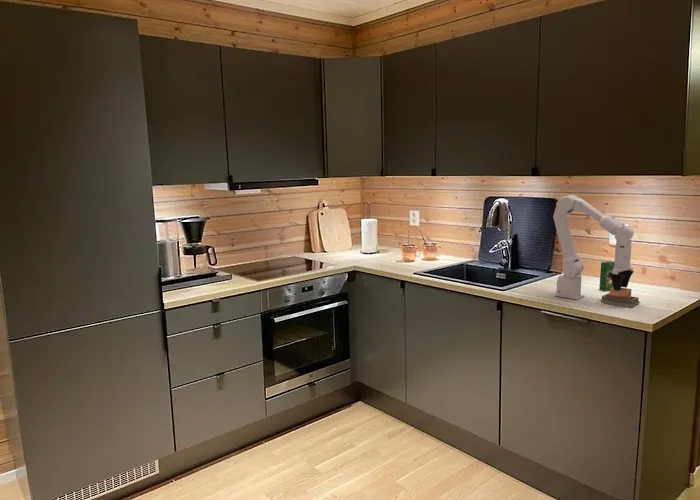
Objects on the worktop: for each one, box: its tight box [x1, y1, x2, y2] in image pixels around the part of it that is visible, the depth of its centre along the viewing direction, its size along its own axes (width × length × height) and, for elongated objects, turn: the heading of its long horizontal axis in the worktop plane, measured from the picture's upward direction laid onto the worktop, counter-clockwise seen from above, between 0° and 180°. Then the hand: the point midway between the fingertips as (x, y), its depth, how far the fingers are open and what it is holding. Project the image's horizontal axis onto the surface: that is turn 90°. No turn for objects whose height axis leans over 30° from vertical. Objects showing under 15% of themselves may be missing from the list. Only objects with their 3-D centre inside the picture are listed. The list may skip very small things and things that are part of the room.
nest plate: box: [599, 292, 640, 309], centre depth 218 cm, size 12×9×3 cm
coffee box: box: [598, 260, 615, 292], centre depth 240 cm, size 8×3×13 cm, turn 124°
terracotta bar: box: [609, 287, 632, 300], centre depth 217 cm, size 4×7×5 cm, turn 44°
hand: (620, 288), depth 217 cm, fingers open, 7 cm apart
